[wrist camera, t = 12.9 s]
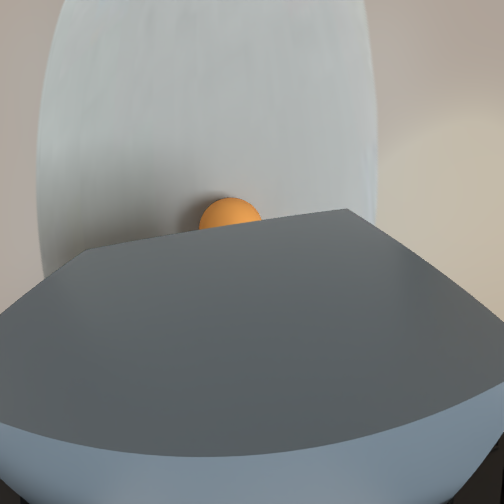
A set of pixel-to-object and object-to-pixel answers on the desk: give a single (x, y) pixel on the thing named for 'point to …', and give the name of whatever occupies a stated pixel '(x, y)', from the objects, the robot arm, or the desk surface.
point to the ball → (228, 213)
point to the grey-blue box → (249, 371)
